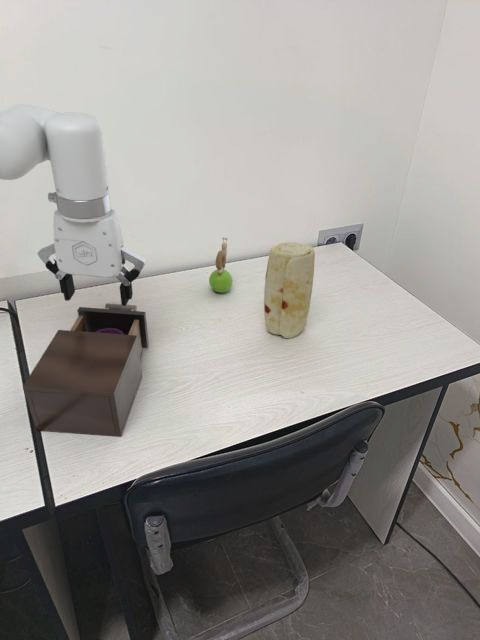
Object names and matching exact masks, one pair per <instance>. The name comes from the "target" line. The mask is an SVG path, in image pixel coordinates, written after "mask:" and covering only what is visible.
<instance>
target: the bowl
mask: <svg viewBox="0 0 480 640" xmlns="http://www.w3.org/2000/svg"><path fill="white" fill-rule="evenodd" d="M96 333H109V334H123V335H124V333H123V332H122V331H120V330H118V329H116V328H105V329H101V330H98V331H96Z"/></svg>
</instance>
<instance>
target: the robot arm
mask: <svg viewBox="0 0 480 640" xmlns="http://www.w3.org/2000/svg"><path fill="white" fill-rule="evenodd" d="M46 161H50V167H51V173H52V176H53V178H52V179H53V183H54V190H55V191H54V192H48V194H47V200H48V202H49V203H54V204H56V210H55V211H54V212H53V243H51V244H49V245H47V246H44V247H42V248H40V249H39V250H38V252H37V256H38V257H39V259H40V260H41V262H42V263H43V264H44V265H45V268H46V269H47V270H48V271H50V273H52V274H53V275H54V278H55V279H56V280H58V282H59V288H60V291H61V292H60V293H61V294H63V298H64V301H66V302H67V301H68V302H69V301H70V300H71V299H72V297H73V296H74V294H75V293H76V289H75V283H74V278H73V275H74V276H84V277H93V278H106V279H114V278H116V279H117V280H118V281H119V282H120V284H119V295H120V304H122V305H123V306H126V305H128V303H129V301H130V300H132V299H133V295H134V294H133V283H132V282H134V281H135V280H136V279H137V278H138V277H139V276H140V274H141V272H142V271H143V269H144V267H145V264H146V263H147V259H146V258H145V257H143V256H141V255H139V254H138V253H136V252H133V251H132V250H130V249H129V248H127V247H125V243H124V238H123V233H122V228H121V226H120V223H119V219H118V216H117V213H116V211H115V209H113V208H112V206H111V205H112V204H111V197H110V196H111V195H110V190H109V180H108V179H109V178H108V169H107V162H106V161H107V159H106V152H105V142H104V133H103V129H102V124H101V122H100V121H99V120H98V119H97V118H96V117H95V116H93V115H90V114H87V113H83V112H72V111H71V112H70V111H69V112H59V111H55V110H50V109H47V108H43V107H39V106H36V105H31V104H16V105H13V106H10V107H8V108H7V109H5V110H2V111H0V180H4V181H13V180H17V179H21V178H23V177H24V176H25V175H27V174H28V173H29V172H31V171H32V170H33V169H35V168H36V167H37V166H38V165H39V164H42V163H44V162H46ZM52 255H55V258H53V256H52ZM126 261H128V262H129V263H131V264H133V265H134V267H133V268H131V269H129V268H128V267H127V266H126Z"/></svg>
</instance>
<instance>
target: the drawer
mask: <svg viewBox="0 0 480 640" xmlns="http://www.w3.org/2000/svg"><path fill="white" fill-rule="evenodd" d="M76 311H77V315H78V316H77V319H76V320H75V321H74V323H73V325H72V326H71V328H70V330H69V331H82V332H96V331H98V330H101V329H105V328H116V329H118V330H120V331H122V332H123V333H124V335H137V338H138V339H137V340H138V347H139V356H140V357H141V355H142V353H143V349H148V348H149V345H150V343H149V333H148V323H147V322H148V321H147V314H146V311H141V310H138V305H137V304H127V305H126V306H123V305H122V304H121V303H111V302H110V303H109V302H106V303H105V305H104V308H101V307H86V306H79V307H78V309H77V310H76Z"/></svg>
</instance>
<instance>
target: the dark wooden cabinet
mask: <svg viewBox="0 0 480 640" xmlns="http://www.w3.org/2000/svg"><path fill="white" fill-rule="evenodd" d="M137 339H138V338H137V335H123V334H109V333H96V332H82V331H70V330H68V329H67V330H66V329H65V330H64V329H58V330H57V331H56V333H55V335H54V336H53V337H52V339H51V341H50V342H49V344H48V345H47V347H46V349H45V350H44V352H43V353H42V355H41V357H40V358H39V360H38V361H37V363H36V365H35V366H34V368H33V369H32V371H31V373H30V375H29V376H28V378H27V379H26V380H25V382H24V384H23V385H22V389H23V392H24V395H25V399H26V401H27V405H28V408H29V411H30V414H31V417H32V420H33V423H34V426H35V430H36V431H37V432H48V433H49V432H50V433H63V434H74V435H75V434H77V435H91V436H106V437H118V438H119V437H120V438H122V436H123V433H124V430H125V427H126V425H127V422H128V419H129V416H130V413H131V410H132V408H133V405H134V401H135V398H136V396H137V393H138V390H139V387H140V384H141V382H142V378H143V373H142V364H141V355H140V356H139V347H138V340H137Z"/></svg>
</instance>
